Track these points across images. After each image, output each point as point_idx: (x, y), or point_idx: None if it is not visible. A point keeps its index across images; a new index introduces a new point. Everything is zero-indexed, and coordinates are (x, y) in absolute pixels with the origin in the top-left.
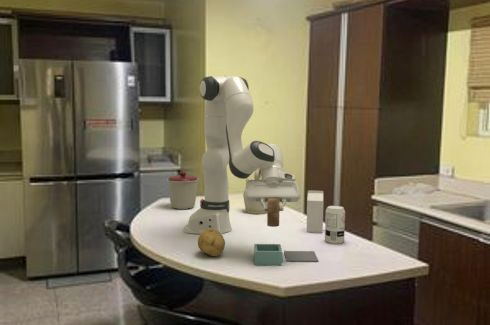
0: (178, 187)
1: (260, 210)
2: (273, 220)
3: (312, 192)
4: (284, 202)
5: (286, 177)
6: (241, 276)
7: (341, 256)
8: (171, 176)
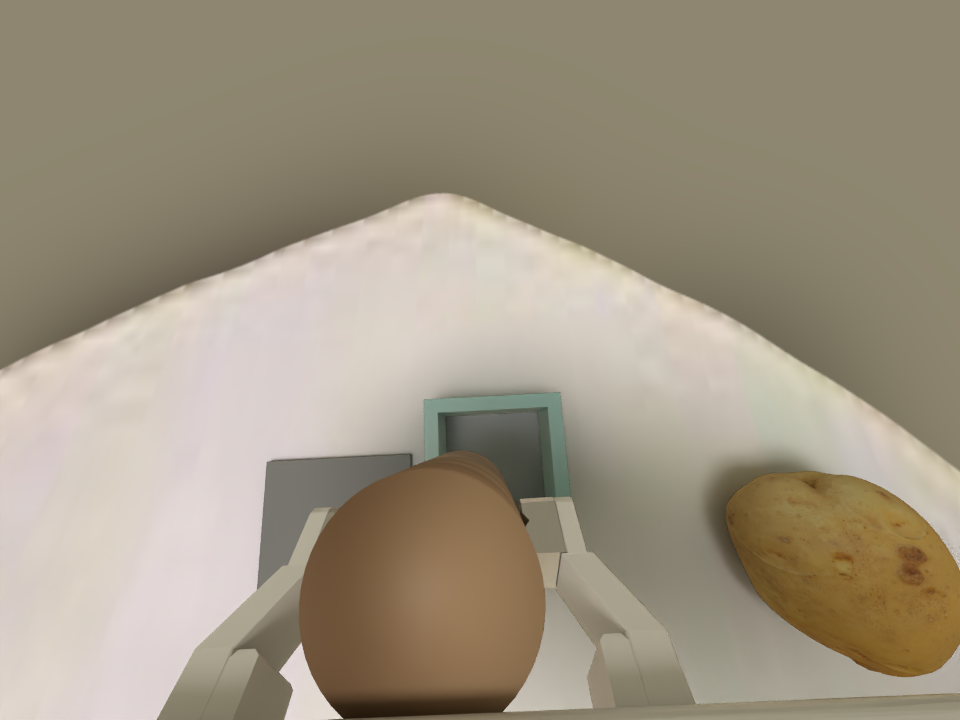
0: None
1: None
2: (455, 452)
3: None
4: (245, 609)
5: None
6: (585, 268)
7: (141, 558)
8: None
